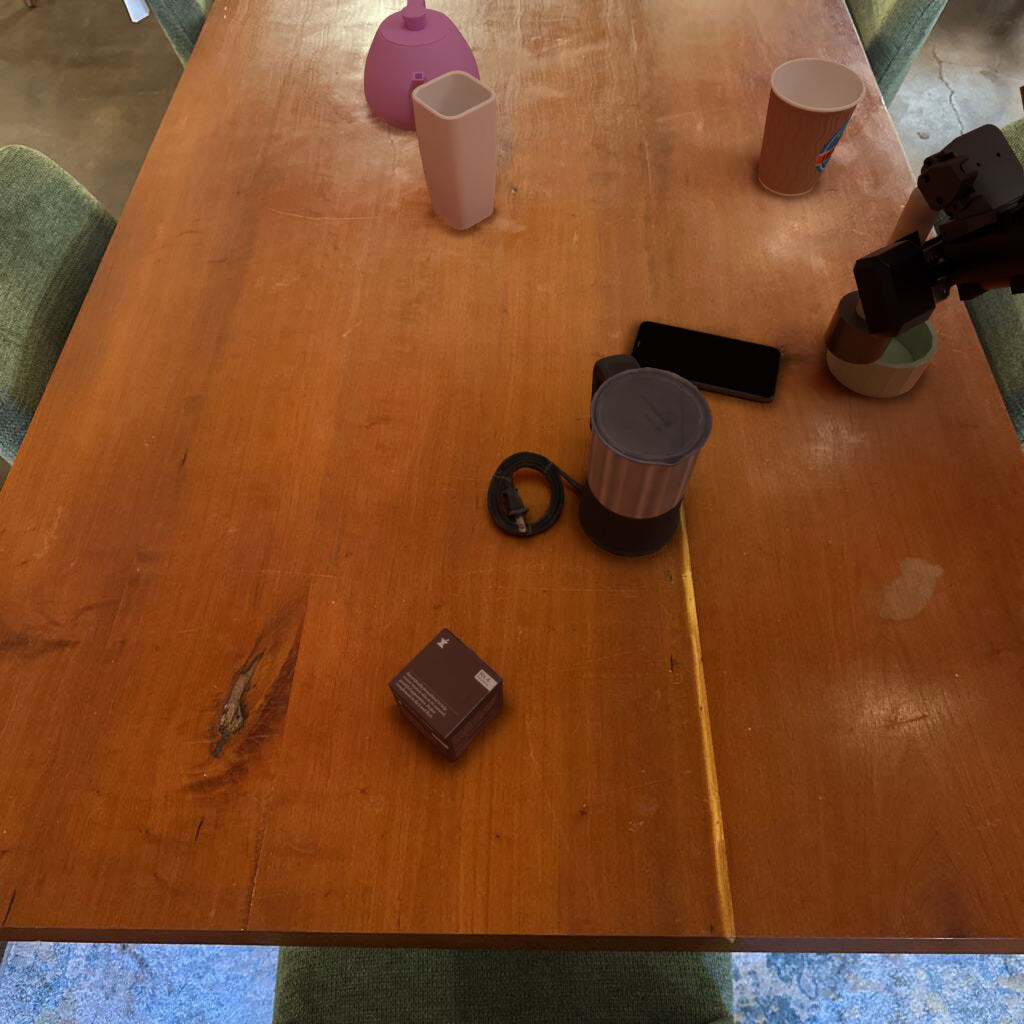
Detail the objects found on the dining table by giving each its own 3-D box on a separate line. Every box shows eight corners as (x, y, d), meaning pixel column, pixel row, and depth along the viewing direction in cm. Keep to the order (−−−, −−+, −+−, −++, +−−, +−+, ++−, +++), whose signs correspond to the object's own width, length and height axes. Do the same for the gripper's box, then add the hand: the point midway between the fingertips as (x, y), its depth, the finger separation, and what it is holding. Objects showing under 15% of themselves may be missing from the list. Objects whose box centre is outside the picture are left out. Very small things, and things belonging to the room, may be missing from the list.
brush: (889, 366, 71) (975, 220, 57) (827, 362, 71) (898, 217, 57) (880, 323, 74) (960, 174, 60) (821, 319, 74) (887, 170, 60)
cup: (421, 213, 92) (404, 92, 80) (468, 187, 95) (458, 66, 82) (459, 243, 89) (447, 122, 77) (506, 216, 92) (502, 94, 79)
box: (399, 712, 61) (384, 682, 54) (452, 659, 63) (444, 624, 57) (453, 765, 58) (444, 740, 52) (506, 708, 61) (504, 677, 54)
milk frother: (700, 527, 69) (739, 427, 56) (555, 614, 65) (562, 527, 52) (608, 423, 75) (624, 311, 63) (470, 496, 71) (458, 392, 58)
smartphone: (781, 353, 80) (639, 323, 82) (783, 347, 79) (641, 317, 81) (772, 406, 76) (624, 373, 78) (774, 401, 75) (625, 368, 78)
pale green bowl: (920, 342, 80) (940, 310, 76) (915, 407, 76) (936, 377, 72) (831, 323, 82) (846, 291, 78) (821, 386, 77) (836, 355, 73)
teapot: (368, 64, 109) (352, -30, 99) (476, 57, 110) (471, -37, 100) (366, 158, 98) (347, 62, 88) (487, 149, 99) (482, 53, 88)
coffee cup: (820, 214, 91) (858, 117, 81) (735, 194, 93) (761, 98, 83) (835, 164, 96) (872, 67, 85) (754, 146, 98) (780, 50, 88)
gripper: (1127, 73, 52) (931, 142, 67) (931, 164, 47) (766, 217, 62) (1150, 233, 55) (958, 266, 70) (969, 333, 51) (803, 346, 65)
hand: (875, 271), depth 66 cm, fingers closed on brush, 2 cm apart
